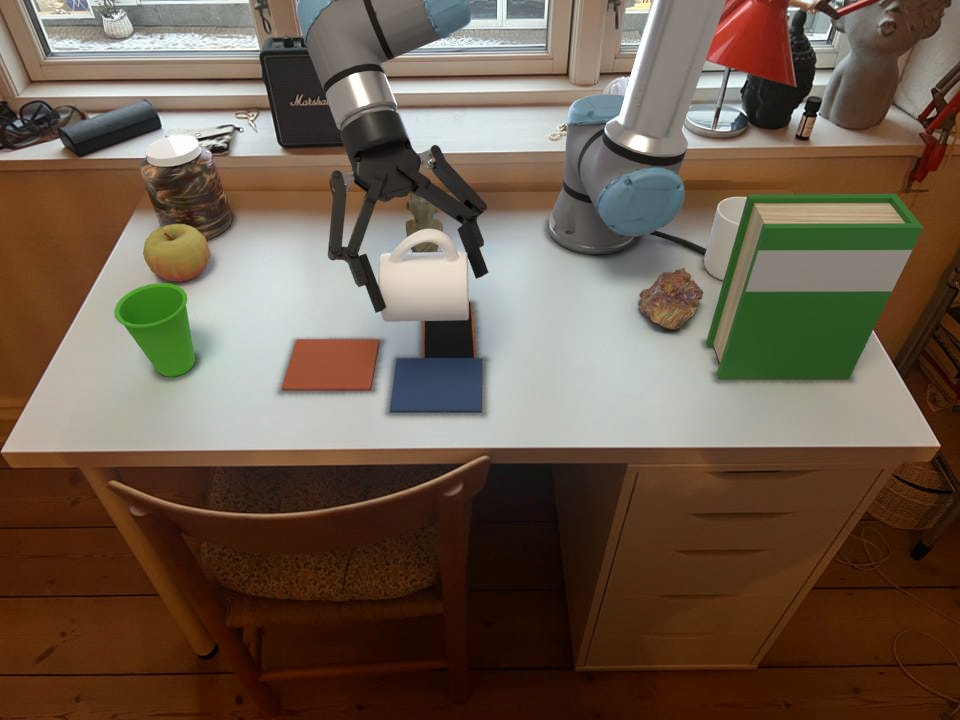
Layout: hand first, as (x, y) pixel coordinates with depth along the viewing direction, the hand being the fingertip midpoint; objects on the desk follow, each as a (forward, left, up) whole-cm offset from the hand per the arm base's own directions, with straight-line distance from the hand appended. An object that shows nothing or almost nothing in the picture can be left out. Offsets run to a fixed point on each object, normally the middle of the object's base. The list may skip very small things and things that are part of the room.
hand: (433, 292), depth 83 cm
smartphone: (-1, -10, -17) cm, 20 cm away
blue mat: (0, -1, -17) cm, 17 cm away
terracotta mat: (+15, -5, -17) cm, 23 cm away
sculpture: (+3, -26, -17) cm, 31 cm away
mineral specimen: (-34, -17, -17) cm, 41 cm away
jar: (+45, -41, -17) cm, 63 cm away
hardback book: (-47, -6, -17) cm, 50 cm away
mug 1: (+1, -2, -5) cm, 6 cm away
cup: (+37, -5, -17) cm, 41 cm away
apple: (+43, -27, -17) cm, 54 cm away
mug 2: (-46, -26, -17) cm, 55 cm away
